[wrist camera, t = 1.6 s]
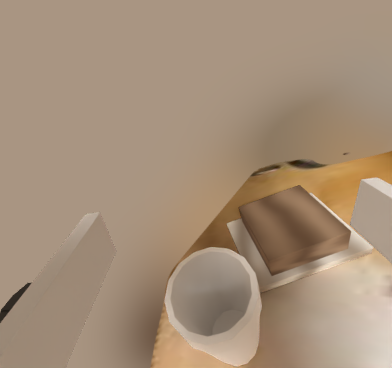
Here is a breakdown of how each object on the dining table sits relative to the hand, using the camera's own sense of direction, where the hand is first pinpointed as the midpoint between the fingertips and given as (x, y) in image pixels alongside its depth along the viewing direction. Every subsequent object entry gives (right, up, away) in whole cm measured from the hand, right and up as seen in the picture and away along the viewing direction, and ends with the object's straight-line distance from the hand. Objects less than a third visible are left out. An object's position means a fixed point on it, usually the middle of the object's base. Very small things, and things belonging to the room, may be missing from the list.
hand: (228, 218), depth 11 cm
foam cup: (+4, -19, +17) cm, 26 cm away
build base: (+15, -8, +26) cm, 31 cm away
